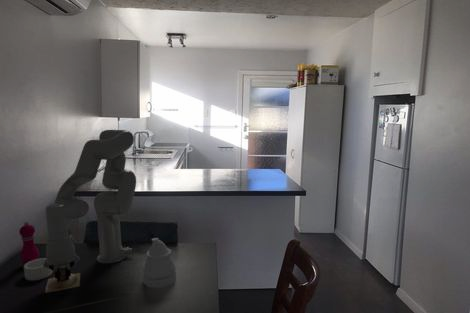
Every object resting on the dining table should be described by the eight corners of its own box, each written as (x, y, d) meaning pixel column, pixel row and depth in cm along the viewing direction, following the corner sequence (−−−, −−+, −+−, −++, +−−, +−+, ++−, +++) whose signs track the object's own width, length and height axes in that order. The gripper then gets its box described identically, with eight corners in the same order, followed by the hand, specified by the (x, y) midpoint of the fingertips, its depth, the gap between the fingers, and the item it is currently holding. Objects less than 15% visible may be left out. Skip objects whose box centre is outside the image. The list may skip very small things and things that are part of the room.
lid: (77, 274, 145) (76, 260, 144) (77, 285, 136) (75, 270, 135) (50, 279, 141) (49, 264, 140) (48, 291, 132) (46, 275, 131)
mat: (80, 274, 146) (80, 272, 146) (79, 287, 135) (79, 286, 135) (48, 280, 142) (48, 278, 142) (45, 294, 131) (44, 292, 131)
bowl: (53, 268, 152) (52, 256, 152) (51, 278, 143) (50, 265, 142) (27, 272, 148) (26, 260, 148) (23, 283, 139) (22, 270, 139)
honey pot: (165, 290, 132) (163, 245, 130) (137, 285, 137) (134, 241, 134) (181, 275, 144) (180, 233, 142) (155, 270, 149) (153, 230, 146)
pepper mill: (31, 268, 153) (26, 225, 150) (17, 267, 154) (12, 224, 151) (43, 261, 160) (39, 219, 157) (30, 260, 161) (25, 219, 158)
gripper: (81, 228, 142) (85, 271, 145) (36, 235, 136) (41, 279, 139) (81, 234, 135) (85, 279, 138) (34, 241, 129) (38, 287, 132)
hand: (63, 278), depth 138 cm, fingers closed on lid, 2 cm apart
